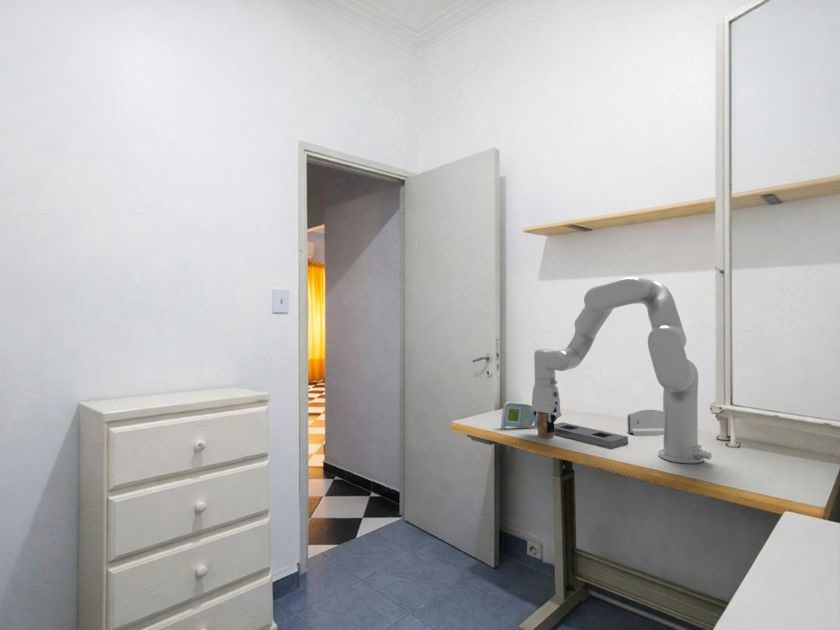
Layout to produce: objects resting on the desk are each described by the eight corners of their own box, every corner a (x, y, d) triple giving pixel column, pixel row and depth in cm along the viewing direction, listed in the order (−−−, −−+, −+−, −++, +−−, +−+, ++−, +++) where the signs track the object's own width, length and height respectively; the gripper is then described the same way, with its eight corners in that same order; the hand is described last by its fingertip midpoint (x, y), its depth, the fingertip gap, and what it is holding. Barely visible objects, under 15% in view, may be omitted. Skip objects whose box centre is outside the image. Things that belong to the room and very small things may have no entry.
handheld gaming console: (538, 433, 190) (502, 430, 188) (535, 431, 192) (500, 428, 190) (541, 406, 190) (505, 402, 188) (538, 404, 193) (503, 401, 190)
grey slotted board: (628, 443, 166) (627, 436, 166) (611, 448, 160) (611, 441, 160) (562, 428, 188) (562, 422, 188) (546, 432, 183) (545, 426, 183)
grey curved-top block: (633, 436, 176) (628, 409, 179) (627, 437, 180) (623, 410, 184) (677, 435, 176) (672, 408, 179) (671, 436, 180) (666, 410, 184)
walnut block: (553, 436, 176) (553, 412, 176) (546, 438, 174) (546, 414, 174) (545, 434, 179) (544, 411, 179) (538, 436, 177) (537, 412, 177)
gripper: (569, 383, 172) (570, 434, 172) (534, 379, 186) (535, 425, 186) (556, 385, 168) (557, 437, 168) (521, 380, 181) (522, 428, 181)
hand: (545, 430), depth 177 cm, fingers closed on walnut block, 4 cm apart
